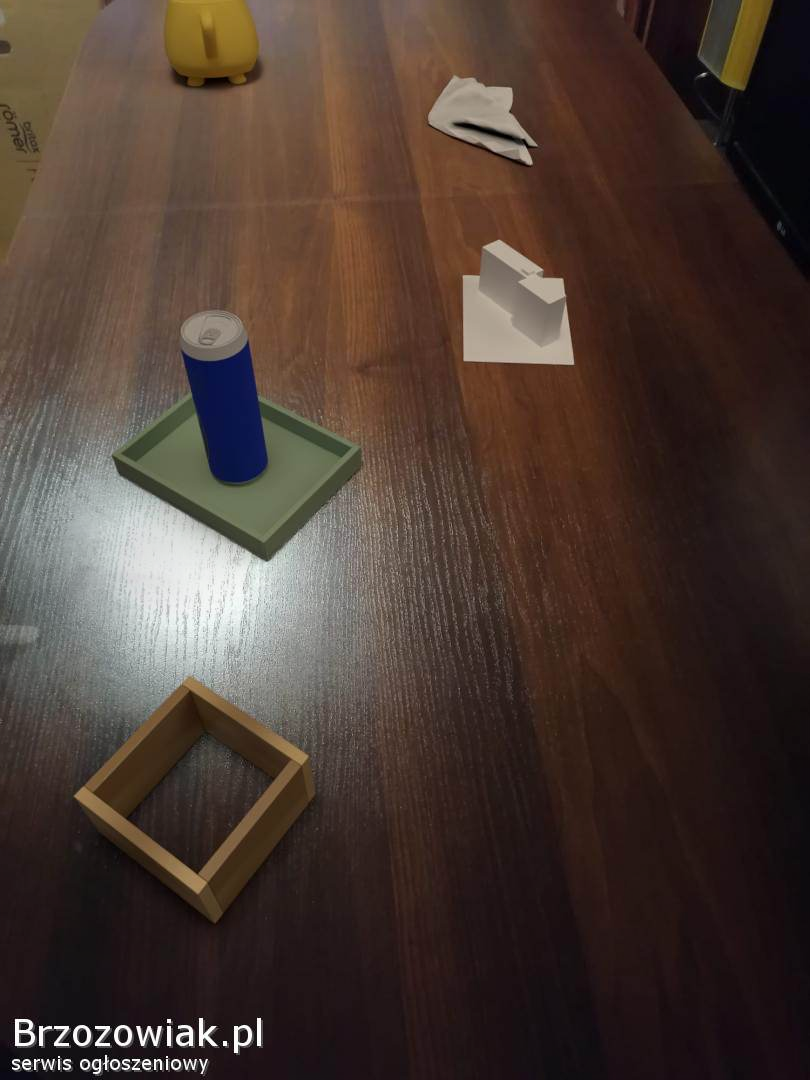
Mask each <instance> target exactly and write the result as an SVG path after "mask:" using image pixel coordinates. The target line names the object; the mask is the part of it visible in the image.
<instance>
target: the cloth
mask: <svg viewBox="0 0 810 1080" xmlns="http://www.w3.org/2000/svg"><path fill="white" fill-rule="evenodd" d="M513 99H514V94H513V88H512V87H508V86H507V87H505V86H485V85H484V84H483V83H481V82H478V81H477V79H476V78H475V77H466V78H460V77H459V76H457V75H455V74H454V75H453V76H452V78H451V79H450V81H449V82H448V84H447V85H446V86H445V87H444V88H443V90H442V92H441V93H440V95H439V96H438V98H437V99H436V101H435V102H434V104H433V106H432V107H431V109H430V111H429V113H428V114H427V119H428V124H429V125H430V126H432V127H433V128H434V129H437V130H439V131H441V132H443V133H445V134H447V135H449V136H451V137H453V138H457V139H458V140H461V141H464V142H466V143H470V144H472V145H474V146H478V147H481V148H484V149H486V150H489V151H491V152H494V153H496V154H499V155H501V156H504V157H506V158H509V159H511V160H514V161H516V162H519V163H521V164H524V165H527V166H529V167H530V166H533V164H534V163H533V160H532V157H531V155H530V152H529V150H528V148H527V146H526V144H527V145H528V146H529V147H537V148H538V147H539V145H538V144H537V143H536V142H535V141H534V140H533V139H532V138H531V136H530V135H529V134H528V133H527V132H526V130H525V129H524V128H523V127H522V126H521V124H520V122H519V121H518V120H517V119H516V116H514V115H513V114H512V113H510V110H512V106H513ZM523 140H524V141H525V143H526V144H525V143H524V141H523Z"/></svg>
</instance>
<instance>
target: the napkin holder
mask: <svg viewBox="0 0 810 1080" xmlns="http://www.w3.org/2000/svg"><path fill="white" fill-rule="evenodd" d="M480 259H481V260H480V269H479V275H468V274H462V309H463V310H462V320H463V323H462V325H463V326H462V327H463V328H462V330H463V331H462V332H463V336H462V337H463V339H462V341H463V362H478V363H480V362H481V363H510V364H533V365H535V364H537V365H564V366H565V365H567V366H574V365H575V359H574V352H573V351H574V350H573V343H572V337H571V329H570V323H569V322H570V321H569V314H568V306H567V294H566V292H565V283H564V277H563V278H562V277H561V278H560V277H543V275H544V269H543V268H541V267H540V266H538V265H537V264H536V263H534V262H533V261H531V260H530V259H528V258H527V257H526V256H524V255H522V254H521V253H520V252H519V251H517V250H515V249H514V248H513V247H511V245H508V244H507V243H505V242H504V241H502V240H501V239H497V240H495V241H492V242H490V243H488V244H486V245H483V246H482V247H481V258H480Z"/></svg>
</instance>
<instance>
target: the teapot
mask: <svg viewBox="0 0 810 1080" xmlns="http://www.w3.org/2000/svg"><path fill="white" fill-rule="evenodd" d="M257 31H258V30H257V28H256V25H255V21H254V18H253V16H252V13H251V11H250V8H249V6H248V4H247V3H246V0H167V4H166V9H165V15H164V22H163V40H164V41H163V43H164V51H165V55H166V58H167V60H168V63H169V64H170V66H171V67H172V68H173V69H174V70H175V72H176V73H178V75H180V76H184V77H188V78H187V81H186V85H188V86H189V87H200V86H203V85H204V84H205V79H208V78H209V79H211V78H216V79H217V78H225V77H226V78H228V81H229V83H231V84H235V85H241V84H243V83H246V81H247V77H246V76H245V73H249V72H250V71H251V70H252V69H253V68H254V67H255V64H256V62H257V58H258V57H259V51H260V42H259V36H258V32H257Z"/></svg>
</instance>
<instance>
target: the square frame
mask: <svg viewBox="0 0 810 1080" xmlns="http://www.w3.org/2000/svg"><path fill="white" fill-rule="evenodd" d="M205 732H206V733H208V734H209V735H210V736H212V737H213V738H215V739H216V740H217V741H219V742H221V743H222V744H223V745H225V746H226V747H228V748H229V749H230V750H231V751H234V753H236V754H238V755H239V756H241V757H242V758H243V759H245V760H246V761H248V762H249V763H251V764H252V765H253V766H255V767H256V768H258V769H259V770H260V771H262V772H264V773H265V774H267V775H268V776H269V777H271V778H272V779H273V781H272V782H271V784H270V785H269V786H268V787H267V789H266V790H265V791H264V792H263V793H262V795H261V796H260V797H259V798H258V799H257V801H256V802H255V803H254V804H253V806H252V807H250V810H249V811H248V812H247V813H246V814H245V816H244V817H243V818H242V819H241V820H240V821H239V823H238V824H237V825H236V827H235V828H234V829H233V830H232V831H231V833H230V834H229V835H228V836H227V837H226V839H225V840H224V841H223V842H222V843H221V845H220V846H219V847H218V848H217V850H216V851H215V852H214V853H213V855H212V856H211V857H210V858H209V860H208V861H207V862H206V863H205V865H203V867H202V868H201V869H200V871H199V872H198V873H196V872H195V871H193V869H191V868H190V867H188V866H187V865H186V864H185V863H183V862H182V861H181V860H180V859H178V858H177V857H175V856H174V855H173V854H172V853H170V852H169V851H167V850H166V849H165V848H164V847H162V846H161V845H160V844H159V843H158V842H156V841H155V840H153V839H152V838H151V836H148V835H147V834H146V833H144V832H143V830H140V828H138V827H137V826H136V825H134V824H133V823H132V822H130V821H129V820H128V819H127V818H128V817H129V816H130V815H131V814H132V813H133V812H134V811H135V809H136V808H137V807H138V806H140V804H141V803H142V802H143V800H145V799H146V797H147V796H148V795H149V794H150V793H151V792H152V791H153V790H154V788H155V787H156V786H157V785H158V784H159V783H160V782H161V780H162V779H164V777H165V776H167V774H168V773H169V772H170V771H171V769H173V768H174V766H176V764H177V763H178V762H179V761H180V760H181V759H182V757H184V755H185V754H186V753H187V752H188V751H189V750H190V749H191V748H192V746H193V745H194V744H195V743H196V742H197V741H198V740H199V739H200V738H201V736H202V735H203V734H205ZM312 771H313V770H312V765H311V759H310V756H309V754H307V753H306V752H304V751H303V750H302V749H300V748H298V747H297V746H295V745H293V743H291V742H289V741H288V740H286V739H285V738H284V737H282V736H280V734H277V733H276V732H274V731H272V730H271V728H269V727H267V726H266V725H264V724H262V723H261V722H260V721H259V720H256V719H255V718H254V717H252V716H250V715H249V714H248V713H246V712H244V711H243V710H242V709H240V708H238V707H237V706H236V705H234V704H233V703H231V702H230V701H228V700H227V699H225V698H224V697H223V696H221V695H219V694H218V693H216V692H215V691H214V690H212V689H210V688H209V687H208V686H206V685H205V684H203V683H201V682H200V681H199V680H197V679H195V677H193V676H191V675H189V676H187V677H186V679H185V680H184V681H183V682H182V683H181V684H180V685H178V687H177V688H176V689H175V690H174V691H173V692H172V693H171V694H170V695H169V696H168V698H166V699H165V700H164V702H163V703H161V704H160V705H159V707H158V708H157V709H156V710H155V711H154V712H152V714H151V715H150V716H149V717H148V718H147V719H146V720H145V721H144V722H143V724H141V725H140V727H138V728H137V730H136V731H134V733H133V734H132V735H131V736H130V737H129V738H128V739H127V740H126V741H125V742H124V743H123V744H122V745H121V746H120V747H119V749H118V750H116V752H114V754H113V755H112V756H111V757H110V758H108V760H106V762H105V763H104V764H103V765H102V766H101V767H100V768H99V769H98V770H97V771H96V773H94V774H93V776H91V777H90V778H89V780H88V781H87V782H86V783H84V785H82V787H81V788H80V789H79V790H78V791H77V792H76V793H75V794H74V795H73V797H74V799H75V800H76V802H77V803H78V805H79V806H80V807H81V809H82V810H83V812H84V813H85V814H86V815H87V817H88V818H89V820H90V821H91V822H92V824H93V825H94V826H95V828H96V829H97V831H98V833H100V834H101V835H102V836H103V837H105V838H106V839H107V840H109V841H110V842H111V843H112V844H113V845H115V846H116V847H117V848H118V849H120V850H121V851H123V852H124V853H125V854H126V855H127V856H129V857H130V858H131V859H132V860H134V861H135V862H136V863H137V864H139V865H140V866H141V867H142V868H144V869H145V870H146V871H148V872H149V874H152V875H153V876H154V877H155V878H156V879H157V880H158V881H160V882H161V883H163V884H164V885H165V886H166V887H167V888H169V889H170V890H171V891H173V892H174V893H175V894H176V895H177V896H179V897H180V898H181V899H183V900H184V901H185V902H186V903H188V904H189V905H190V906H192V908H194V909H195V910H197V911H198V912H199V913H200V914H201V915H203V916H204V917H205V918H207V920H209V921H210V922H212V923H213V924H214V925H215V924H216V923H217V922H218V921H219V920H220V918H221V917H222V916H223V914H224V913H225V912H226V911H227V909H228V908H229V907H230V905H232V903H233V902H234V900H235V899H236V898H237V897H238V895H239V894H240V893H241V891H242V890H243V889H244V887H246V885H247V883H248V882H249V881H250V880H251V878H252V877H253V876H254V874H255V873H256V872H257V871H258V870H259V868H260V867H261V865H262V864H263V863H264V862H265V860H266V859H267V858H268V856H269V855H270V854H271V853H272V851H273V850H274V849H275V847H276V846H277V845H278V844H279V843H280V841H281V840H282V838H283V837H284V836H285V835H286V833H287V832H288V831H289V830H290V828H291V827H292V825H293V824H294V823H295V821H296V820H298V817H299V816H300V815H301V814H302V812H303V811H304V810H305V809H306V808H307V806H308V805H309V803H310V802H311V801H312V800H313V798H314V797H315V796H316V788H315V782H314V777H313V772H312Z"/></svg>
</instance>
